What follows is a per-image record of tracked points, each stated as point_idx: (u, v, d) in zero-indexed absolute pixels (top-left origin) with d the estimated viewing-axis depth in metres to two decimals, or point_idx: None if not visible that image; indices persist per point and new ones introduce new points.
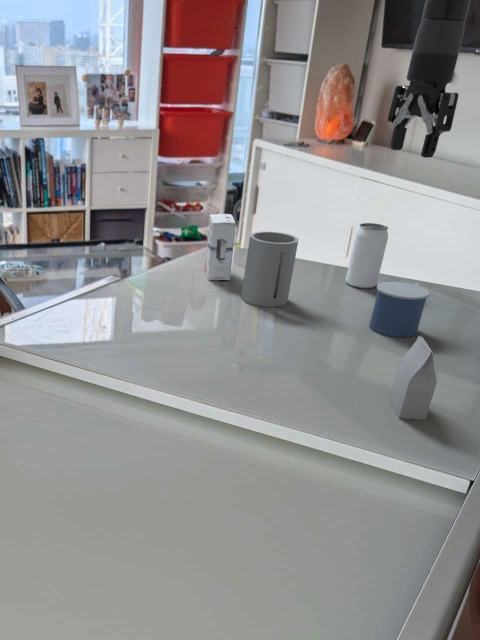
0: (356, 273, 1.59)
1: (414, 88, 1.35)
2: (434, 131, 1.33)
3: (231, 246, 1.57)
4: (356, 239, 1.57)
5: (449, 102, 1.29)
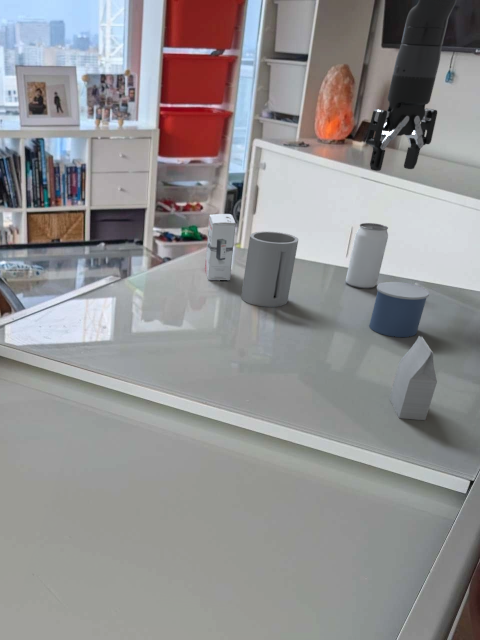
0: (356, 273, 1.59)
1: None
2: None
3: (231, 246, 1.57)
4: (356, 239, 1.57)
5: (374, 118, 1.40)
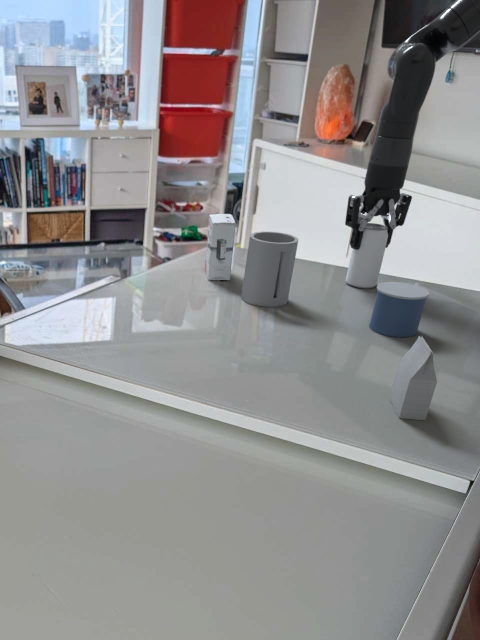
0: (355, 273, 1.59)
1: None
2: None
3: (231, 246, 1.57)
4: None
5: (350, 203, 1.52)
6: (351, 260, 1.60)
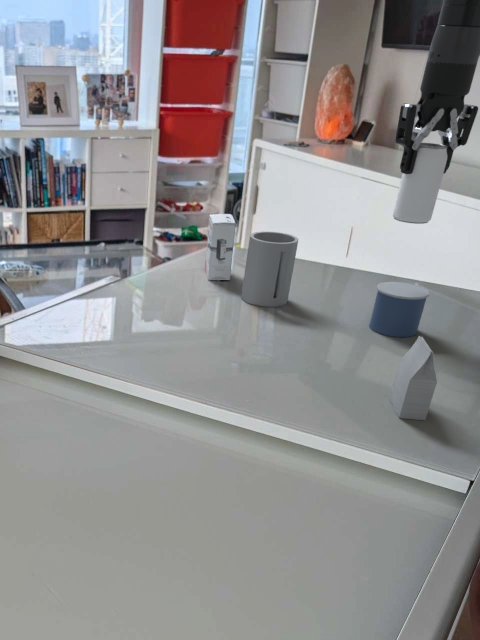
0: (406, 204, 1.30)
1: None
2: (404, 145, 1.26)
3: (231, 246, 1.57)
4: None
5: (402, 114, 1.23)
6: (401, 189, 1.31)
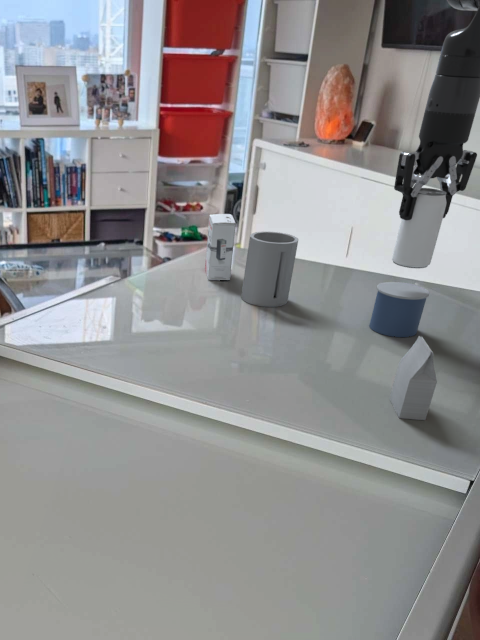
0: (406, 249, 1.30)
1: None
2: None
3: (231, 246, 1.57)
4: None
5: (401, 162, 1.23)
6: (400, 234, 1.30)
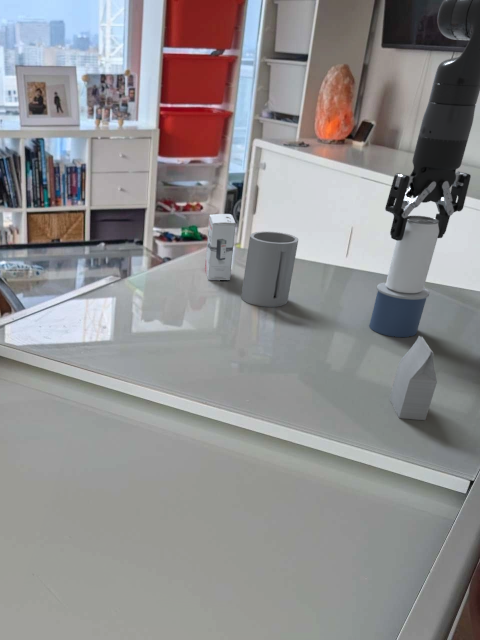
0: (399, 275, 1.32)
1: None
2: None
3: (231, 246, 1.57)
4: None
5: (395, 183, 1.24)
6: (393, 260, 1.33)
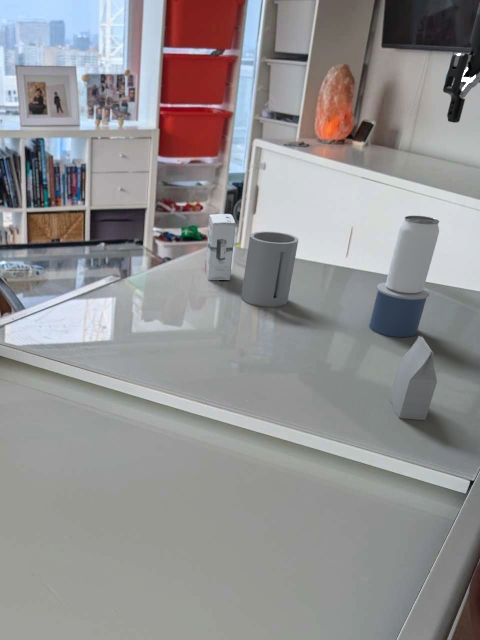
0: (399, 275, 1.32)
1: None
2: (451, 93, 1.31)
3: (231, 246, 1.57)
4: (400, 235, 1.30)
5: (454, 62, 1.27)
6: (393, 260, 1.33)
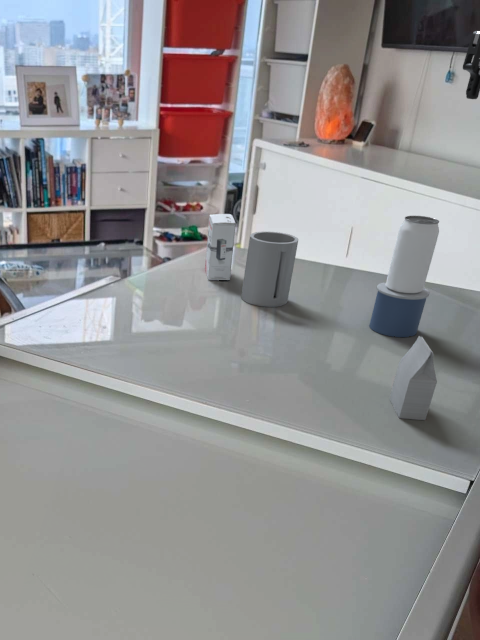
0: (399, 275, 1.32)
1: None
2: None
3: (231, 246, 1.57)
4: (400, 235, 1.30)
5: (474, 40, 1.33)
6: (393, 260, 1.33)
